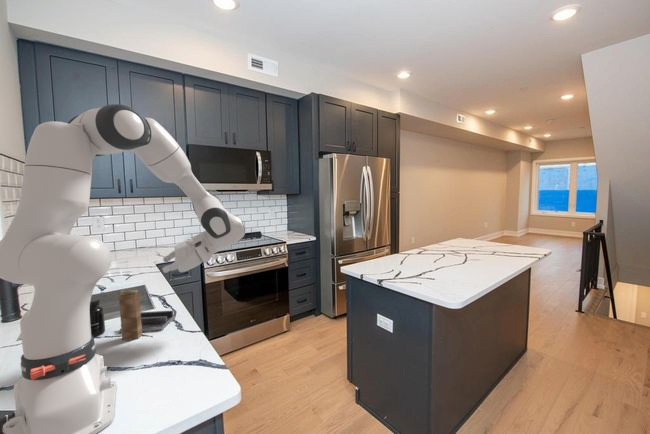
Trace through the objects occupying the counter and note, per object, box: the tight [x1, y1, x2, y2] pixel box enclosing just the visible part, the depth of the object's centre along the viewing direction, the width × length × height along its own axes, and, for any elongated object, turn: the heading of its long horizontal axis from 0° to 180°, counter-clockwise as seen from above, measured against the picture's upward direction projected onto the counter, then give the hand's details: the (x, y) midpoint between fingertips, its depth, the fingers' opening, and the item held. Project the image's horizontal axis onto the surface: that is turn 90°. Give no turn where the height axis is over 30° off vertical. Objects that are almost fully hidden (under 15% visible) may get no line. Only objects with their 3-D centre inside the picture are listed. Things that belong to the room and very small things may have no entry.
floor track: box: [119, 310, 176, 334], centre depth 105 cm, size 14×10×4 cm
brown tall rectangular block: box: [118, 289, 143, 341], centre depth 96 cm, size 5×2×16 cm, turn 95°
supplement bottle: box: [90, 298, 106, 338], centre depth 99 cm, size 7×7×12 cm
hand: (163, 265), depth 99 cm, fingers open, 8 cm apart
